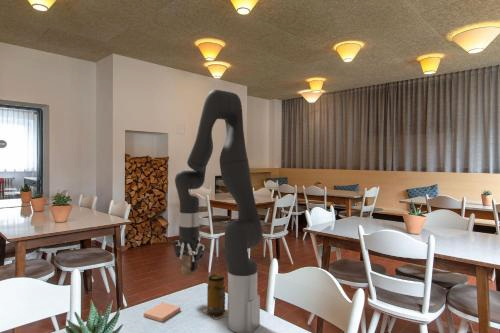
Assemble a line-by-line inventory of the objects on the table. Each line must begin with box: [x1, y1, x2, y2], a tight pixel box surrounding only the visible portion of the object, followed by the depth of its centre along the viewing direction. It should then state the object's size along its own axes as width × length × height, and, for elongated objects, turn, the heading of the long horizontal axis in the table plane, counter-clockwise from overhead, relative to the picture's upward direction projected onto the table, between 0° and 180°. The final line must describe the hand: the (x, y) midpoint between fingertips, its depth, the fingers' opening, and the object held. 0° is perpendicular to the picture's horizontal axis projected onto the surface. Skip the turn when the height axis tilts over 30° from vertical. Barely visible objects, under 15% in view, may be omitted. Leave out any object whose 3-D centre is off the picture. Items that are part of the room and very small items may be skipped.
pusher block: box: [180, 252, 198, 276], centre depth 120 cm, size 4×4×7 cm
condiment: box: [201, 273, 228, 320], centre depth 110 cm, size 7×8×12 cm
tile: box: [143, 302, 181, 323], centre depth 109 cm, size 8×2×9 cm
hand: (188, 269), depth 120 cm, fingers closed on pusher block, 4 cm apart
